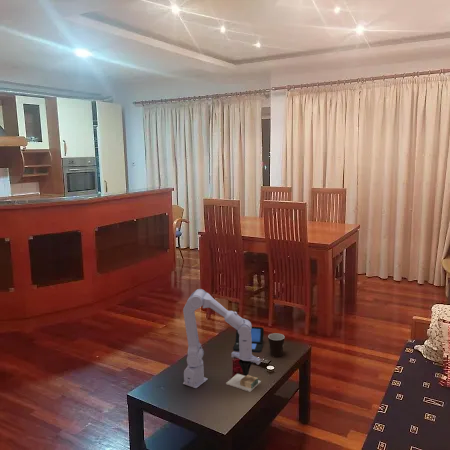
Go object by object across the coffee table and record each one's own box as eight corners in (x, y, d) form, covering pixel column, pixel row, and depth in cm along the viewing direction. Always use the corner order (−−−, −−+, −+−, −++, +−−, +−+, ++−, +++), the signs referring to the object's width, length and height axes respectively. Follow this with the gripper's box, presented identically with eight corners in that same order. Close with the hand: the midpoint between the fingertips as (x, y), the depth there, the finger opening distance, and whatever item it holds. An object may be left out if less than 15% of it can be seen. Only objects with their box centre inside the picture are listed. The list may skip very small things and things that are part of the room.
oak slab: (240, 385, 196) (251, 388, 192) (240, 380, 195) (251, 383, 192) (247, 379, 200) (258, 382, 197) (247, 374, 200) (258, 378, 197)
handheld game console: (232, 351, 231) (232, 335, 230) (237, 340, 244) (236, 325, 243) (261, 353, 228) (261, 336, 227) (264, 342, 241) (263, 326, 240)
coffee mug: (279, 359, 220) (279, 341, 218) (265, 355, 225) (265, 337, 223) (290, 351, 229) (290, 333, 227) (276, 347, 234) (276, 330, 232)
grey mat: (250, 392, 191) (250, 390, 191) (226, 384, 198) (225, 382, 198) (261, 382, 199) (260, 380, 199) (237, 374, 206) (237, 373, 206)
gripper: (263, 347, 194) (264, 374, 196) (236, 340, 202) (237, 366, 204) (255, 353, 188) (256, 381, 190) (228, 345, 196) (229, 373, 198)
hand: (246, 374), depth 197 cm, fingers closed
